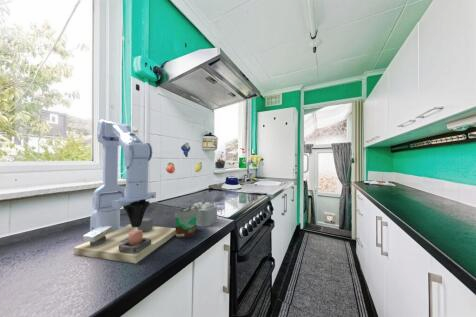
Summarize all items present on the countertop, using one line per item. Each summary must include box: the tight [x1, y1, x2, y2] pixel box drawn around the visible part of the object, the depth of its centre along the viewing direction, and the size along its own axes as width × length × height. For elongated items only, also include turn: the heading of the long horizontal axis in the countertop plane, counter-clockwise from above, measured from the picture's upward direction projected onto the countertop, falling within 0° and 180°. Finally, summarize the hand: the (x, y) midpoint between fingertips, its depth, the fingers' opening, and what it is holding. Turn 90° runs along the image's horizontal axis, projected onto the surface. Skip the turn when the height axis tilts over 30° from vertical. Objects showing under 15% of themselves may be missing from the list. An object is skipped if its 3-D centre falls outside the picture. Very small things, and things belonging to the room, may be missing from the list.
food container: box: [173, 204, 199, 239], centre depth 65 cm, size 12×6×10 cm, turn 168°
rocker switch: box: [82, 225, 113, 242], centre depth 53 cm, size 4×6×2 cm, turn 168°
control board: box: [72, 223, 176, 264], centre depth 57 cm, size 22×20×4 cm
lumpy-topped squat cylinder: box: [193, 201, 218, 227], centre depth 79 cm, size 10×13×9 cm
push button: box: [129, 230, 143, 245], centre depth 50 cm, size 4×4×3 cm
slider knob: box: [138, 217, 154, 231], centre depth 63 cm, size 4×3×4 cm
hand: (136, 226), depth 50 cm, fingers closed
